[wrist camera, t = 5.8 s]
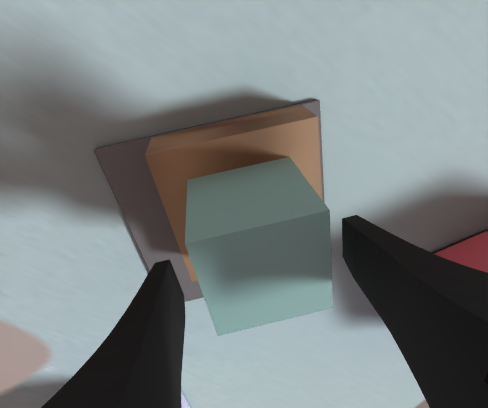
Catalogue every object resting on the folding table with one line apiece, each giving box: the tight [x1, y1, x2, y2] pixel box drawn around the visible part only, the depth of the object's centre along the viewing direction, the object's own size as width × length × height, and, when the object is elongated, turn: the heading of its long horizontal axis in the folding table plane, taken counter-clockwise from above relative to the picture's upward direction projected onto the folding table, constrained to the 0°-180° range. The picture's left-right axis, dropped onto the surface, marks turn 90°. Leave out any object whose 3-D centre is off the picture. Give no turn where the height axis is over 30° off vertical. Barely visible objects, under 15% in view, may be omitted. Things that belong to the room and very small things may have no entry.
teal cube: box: [185, 157, 333, 336], centre depth 14 cm, size 5×5×5 cm
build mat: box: [94, 100, 324, 302], centre depth 19 cm, size 12×12×1 cm
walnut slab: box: [145, 105, 322, 282], centre depth 17 cm, size 8×8×2 cm
